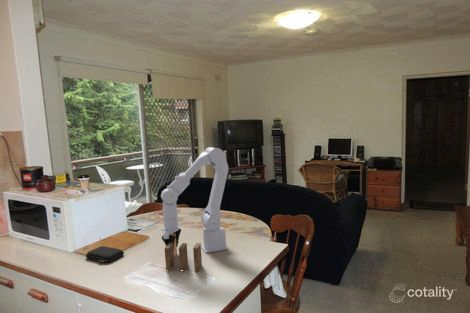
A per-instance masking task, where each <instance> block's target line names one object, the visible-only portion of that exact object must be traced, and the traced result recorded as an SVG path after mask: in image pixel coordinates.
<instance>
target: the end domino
mask: <svg viewBox="0 0 470 313" xmlns="http://www.w3.org/2000/svg"><path fill="white" fill-rule="evenodd" d="M171 235H172V236H176V233H172V234H171ZM177 248H178V247H177V245H176V238H175V242H174V251H173V252H174V258H176V256H177V255H178V249H177Z"/></svg>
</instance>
